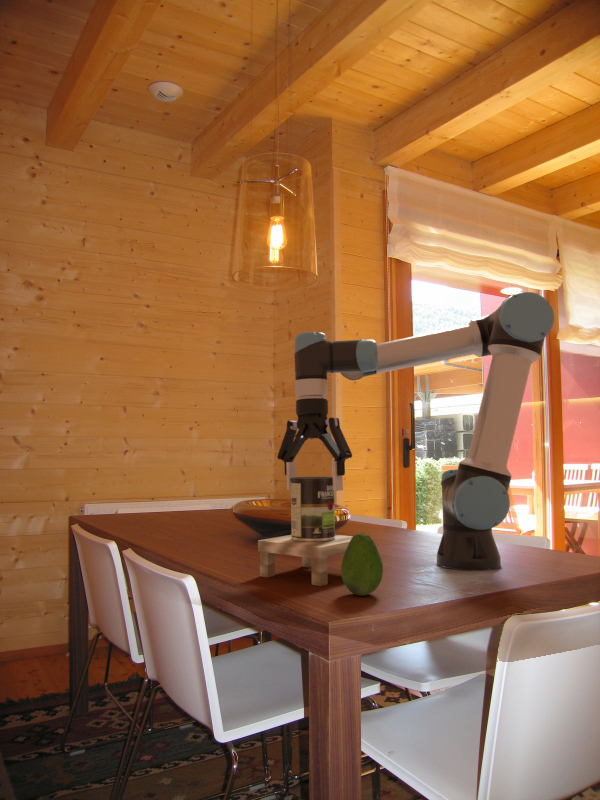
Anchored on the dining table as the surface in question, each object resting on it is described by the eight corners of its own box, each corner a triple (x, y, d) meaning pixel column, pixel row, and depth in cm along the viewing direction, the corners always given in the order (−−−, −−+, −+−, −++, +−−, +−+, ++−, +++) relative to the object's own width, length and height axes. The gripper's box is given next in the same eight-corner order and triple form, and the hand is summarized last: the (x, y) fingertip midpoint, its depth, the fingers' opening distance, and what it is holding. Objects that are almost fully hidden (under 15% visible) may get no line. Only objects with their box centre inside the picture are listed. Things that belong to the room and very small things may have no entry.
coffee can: (344, 537, 142) (343, 476, 143) (318, 543, 133) (317, 478, 135) (308, 534, 148) (307, 476, 149) (281, 540, 140) (281, 477, 141)
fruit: (360, 588, 125) (359, 529, 126) (391, 594, 119) (389, 532, 120) (333, 595, 120) (332, 532, 121) (364, 601, 114) (362, 536, 115)
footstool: (368, 573, 141) (367, 537, 142) (320, 586, 127) (320, 547, 128) (307, 564, 152) (307, 532, 153) (258, 576, 139) (257, 540, 139)
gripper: (365, 395, 138) (368, 489, 136) (282, 403, 154) (284, 488, 152) (345, 393, 132) (349, 492, 131) (261, 401, 148) (263, 490, 146)
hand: (314, 490), depth 141 cm, fingers open, 13 cm apart
